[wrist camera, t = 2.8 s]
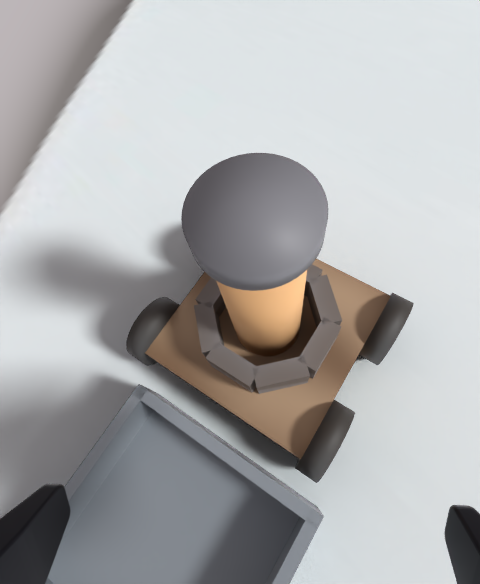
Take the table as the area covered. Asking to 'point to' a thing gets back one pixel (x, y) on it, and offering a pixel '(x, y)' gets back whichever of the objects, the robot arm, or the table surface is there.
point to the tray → (177, 507)
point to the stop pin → (258, 242)
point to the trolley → (277, 358)
